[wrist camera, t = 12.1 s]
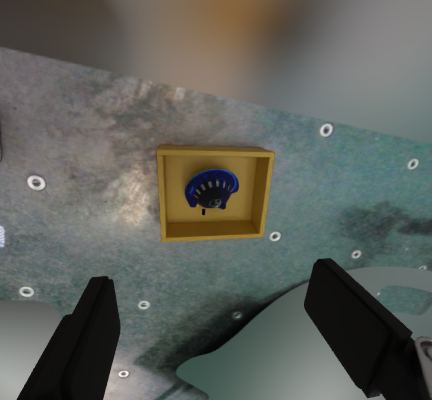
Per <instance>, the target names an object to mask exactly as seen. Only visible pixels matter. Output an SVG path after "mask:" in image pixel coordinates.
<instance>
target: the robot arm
mask: <svg viewBox="0 0 432 400" xmlns="http://www.w3.org/2000/svg"><path fill="white" fill-rule="evenodd" d="M304 308H305V310H306V312H307V314H308V315H309V316H310V318H311V319H312V321H313V322H314V324H315V325H316V327H317V328H318V330H319V331H320V333H321V334H322V336H323V337H324V339H325V340H326V342H327V343H328V345H329V346H330V348H331V349H332V351H333V352H334V354H335V355H336V357H337V358H338V360H339V361H340V362H341V364H342V366H343V367H344V369H345V370H346V372H347V373H348V374H349V376H350V378H351V379H352V380H353V382H354V383H355V385H356V386H357V387H358V388H360V389H362V391H363V392H364V394H365V395H366V397H367V398H371V397H376V396H380V394H382V395H383V396H384V398H385V399H386V400H432V338H430V337H422V336H421V337H418V338H416V340H415V341H414V340H413V339H412V338H411V335H412V333H413V332H412V331H410V330H409V329H408V328H407V327H406V326H405V325H404V324H403V323H402V322H400V321H399V320H398V319H397V318H396V317H395V316H394V315H393V314H392V313H391V312H390V311H388V310H387V309H386V308H385V307H384V306H383V305H382V304H381V303H380V302H379V301H377V300H376V299H375V298H374V297H373V296H372V295H371V294H370V293H369V292H368V291H366V290H365V289H364V288H363V287H362V286H361V285H360V284H359V283H358V282H356V281H355V280H354V279H353V278H352V277H351V276H350V275H349V274H348V273H347V272H345V271H344V270H343V269H342V268H341V267H340V266H339V265H338V264H337V263H336V262H334V261H333V260H332V259H330V258H325V259H318V260H317V261H316V262H315V263H314V265H313V269H312V273H311V277H310V281H309V286H308V290H307V293H306V298H305V301H304ZM119 336H120V320H119V313H118V307H117V301H116V295H115V289H114V283H113V280H112V279H109V278H108V276H101V277H92V278H91V279H90V281H89V283H88V285H87V287H86V288H85V290H84V292H83V294H82V296H81V298H80V300H79V302H78V304H77V306H76V307H75V309H74V311H73V313H72V314H69V315H66V316H64V317H63V319H62V320H61V322H60V323H59V325H58V327H57V329H56V330H55V332H54V334H53V336H52V337H51V339H50V341H49V343H48V345H47V347H46V348H45V350H44V352H43V353H42V355H41V357H40V359H39V361H38V363H37V364H36V366H35V368H34V369H33V371H32V373H31V375H30V377H29V378H28V381H27V382H26V384H25V385H24V387H23V389H22V391H21V392H20V395H19V396H18V398H17V400H103V398H104V394H105V390H106V386H107V382H108V378H109V374H110V371H111V367H112V363H113V359H114V355H115V351H116V347H117V343H118V339H119Z"/></svg>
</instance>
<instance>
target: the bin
mask: <svg viewBox="0 0 432 400" xmlns="http://www.w3.org/2000/svg"><path fill="white" fill-rule="evenodd" d="M274 155H275V152H272V151H269V150H266V149H263V148H258V147H222V146H186V145H160V146H159V147H158V149H157V166H158V185H159V205H160V224H161V242H177V241H198V240H219V239H241V238H262V237H263V235H264V234H263V233H264V227H265V220H266V213H267V206H268V198H269V191H270V184H271V177H272V170H273V162H274ZM214 168H219V169H225V170H228V171H230V172H232V173H233V174H235V175H236V177H237V178H238V181H239V189H238V191H237V192H235V193H232V195H231V196H230V198H229V200H228V201H227V203H226V209H224V210H222V209H220V208H218V207H217V208H204V207H202V206H201V205H199V203H198V204H197V206H196V207H194V208H191V207H190V206H189V204H188V202H187V200H186V198H185V194H184V193H185V191H184V189H185V186H186V184H187V182H188V181H189V180H190V179H191V178H192V177H193V176H194V175H196V174H197V173H199V172H201V171H204V170H207V169H214ZM216 180H220V179H216ZM208 181H210V180H208ZM224 182H227V181H225V180H224ZM229 186H231V184H229ZM231 191H233V188H232V190H231ZM202 209H206V211H205V215H202Z"/></svg>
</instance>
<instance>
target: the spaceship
mask: <svg viewBox="0 0 432 400" xmlns="http://www.w3.org/2000/svg"><path fill="white" fill-rule="evenodd" d="M216 179H220V180H216ZM208 180H210V181H208ZM224 180H225V181H227V182H224ZM229 184H231V186H229ZM232 188H233V191H231V190H232ZM238 189H239V181H238V178H237V177H236V175H235V174H233V173H232V172H230V171H228V170H225V169H219V168H214V169H207V170H204V171H201V172H199V173H197V174H196V175H194V176H193V177H192V178H191V179H190V180H189V181H188V182H187V184H186V186H185V189H184V191H185V193H184V194H185V198H186V200H187V202H188V204H189V206H190V207H191V208H194V207H196V206H197V204H198V203H199V205H201V206H202V207H204V208H217V207H218V208H220V209H222V210H224V209H226V203H227V201H228V200H229V198H230V196H231V195H232V193H235V192H237V191H238ZM205 211H206V209H202V215H205Z"/></svg>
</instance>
